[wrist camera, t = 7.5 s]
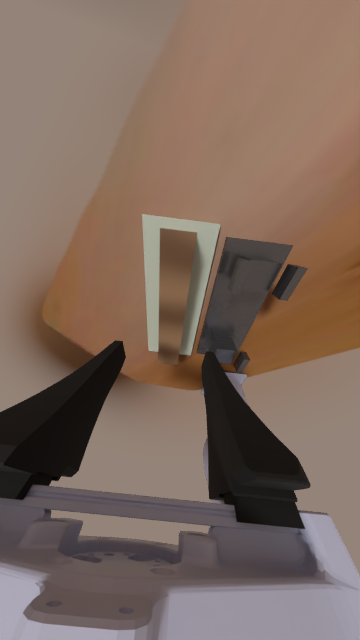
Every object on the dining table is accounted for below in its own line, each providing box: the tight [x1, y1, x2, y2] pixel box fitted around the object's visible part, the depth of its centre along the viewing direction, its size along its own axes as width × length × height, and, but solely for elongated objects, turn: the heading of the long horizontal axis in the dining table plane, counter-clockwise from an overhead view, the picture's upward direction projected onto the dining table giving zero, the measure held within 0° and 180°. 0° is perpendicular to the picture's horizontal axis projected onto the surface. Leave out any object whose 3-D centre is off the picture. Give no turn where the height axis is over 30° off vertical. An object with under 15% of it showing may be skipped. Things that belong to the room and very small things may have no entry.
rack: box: [197, 237, 308, 373], centre depth 17 cm, size 18×7×5 cm, turn 174°
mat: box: [142, 214, 221, 355], centre depth 19 cm, size 20×8×1 cm, turn 174°
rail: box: [158, 228, 197, 365], centre depth 17 cm, size 18×3×3 cm, turn 174°
